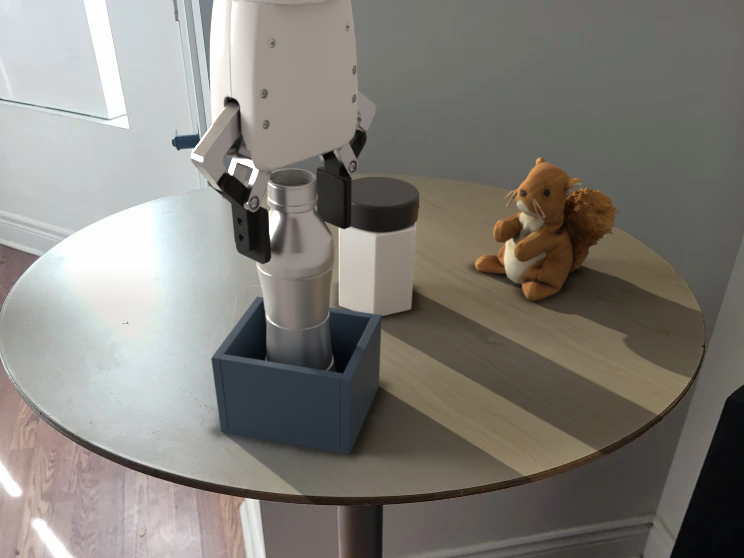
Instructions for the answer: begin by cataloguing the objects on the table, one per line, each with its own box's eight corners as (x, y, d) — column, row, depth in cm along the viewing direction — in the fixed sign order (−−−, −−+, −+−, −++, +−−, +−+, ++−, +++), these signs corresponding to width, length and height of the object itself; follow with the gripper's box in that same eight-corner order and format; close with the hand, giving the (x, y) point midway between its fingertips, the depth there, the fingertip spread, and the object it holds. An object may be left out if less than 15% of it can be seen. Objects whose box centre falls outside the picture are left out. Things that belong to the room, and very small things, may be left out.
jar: (429, 296, 87) (438, 188, 79) (390, 327, 82) (396, 215, 73) (362, 274, 90) (364, 169, 82) (321, 302, 85) (319, 192, 77)
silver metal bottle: (271, 430, 67) (252, 198, 53) (260, 386, 72) (241, 163, 58) (344, 421, 68) (344, 192, 54) (329, 378, 73) (326, 158, 59)
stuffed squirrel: (467, 270, 92) (481, 155, 83) (560, 247, 97) (582, 137, 88) (518, 308, 85) (539, 187, 76) (615, 281, 91) (645, 166, 82)
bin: (220, 434, 67) (210, 357, 62) (262, 369, 75) (256, 296, 70) (349, 457, 66) (350, 380, 60) (379, 388, 73) (381, 314, 68)
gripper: (338, -56, 54) (338, 195, 66) (128, -29, 44) (172, 260, 56) (421, -42, 51) (405, 221, 63) (212, -9, 41) (241, 295, 53)
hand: (295, 238), depth 59 cm, fingers open, 7 cm apart
